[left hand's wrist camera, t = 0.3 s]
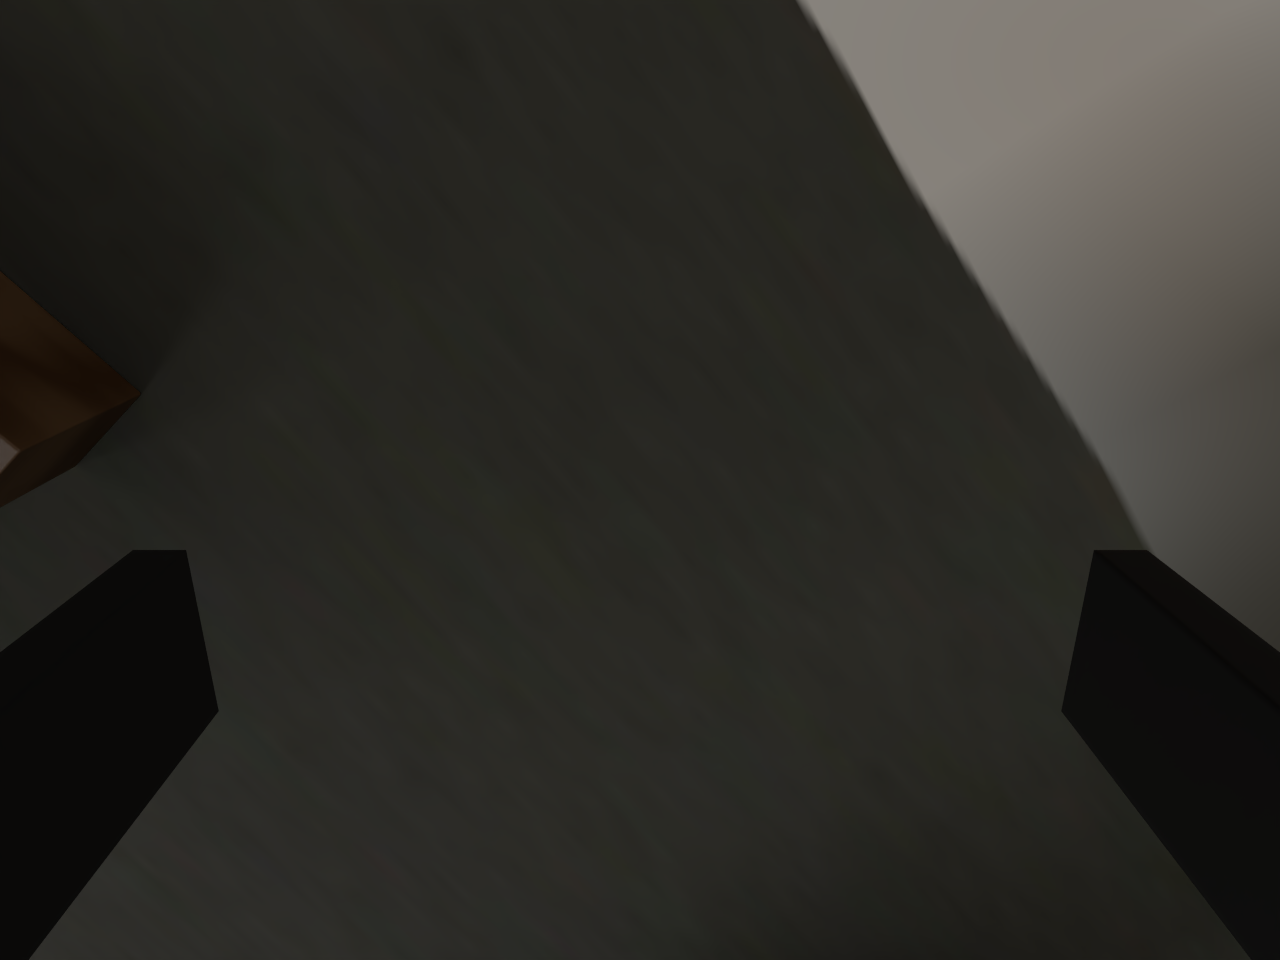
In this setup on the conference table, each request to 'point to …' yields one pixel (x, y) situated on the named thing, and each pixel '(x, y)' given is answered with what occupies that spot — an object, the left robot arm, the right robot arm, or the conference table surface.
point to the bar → (49, 395)
